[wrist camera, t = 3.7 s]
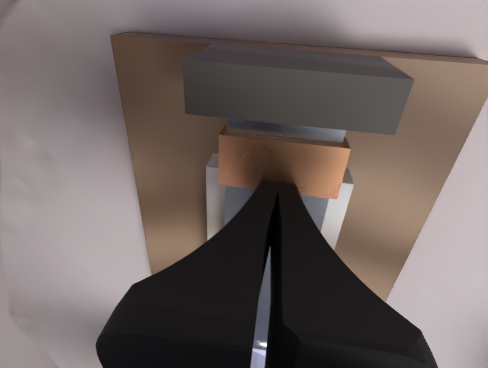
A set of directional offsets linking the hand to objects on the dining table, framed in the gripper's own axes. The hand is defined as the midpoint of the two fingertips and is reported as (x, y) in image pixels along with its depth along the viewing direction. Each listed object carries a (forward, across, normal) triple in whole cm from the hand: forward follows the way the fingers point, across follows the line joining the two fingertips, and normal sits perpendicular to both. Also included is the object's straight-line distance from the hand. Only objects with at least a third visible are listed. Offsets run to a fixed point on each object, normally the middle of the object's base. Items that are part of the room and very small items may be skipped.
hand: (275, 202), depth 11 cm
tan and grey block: (+1, 0, +4) cm, 4 cm away
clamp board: (+4, 0, +4) cm, 5 cm away
